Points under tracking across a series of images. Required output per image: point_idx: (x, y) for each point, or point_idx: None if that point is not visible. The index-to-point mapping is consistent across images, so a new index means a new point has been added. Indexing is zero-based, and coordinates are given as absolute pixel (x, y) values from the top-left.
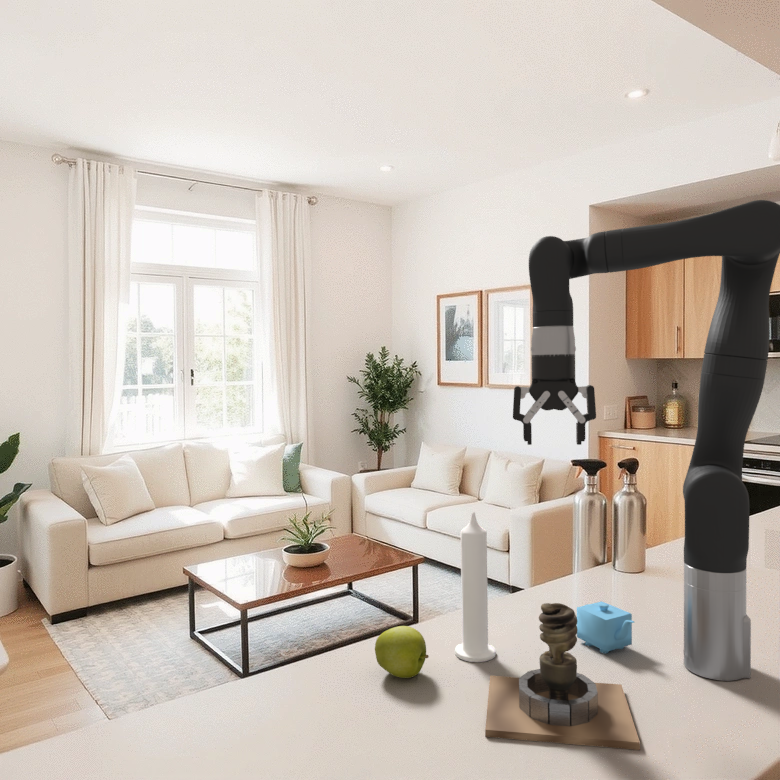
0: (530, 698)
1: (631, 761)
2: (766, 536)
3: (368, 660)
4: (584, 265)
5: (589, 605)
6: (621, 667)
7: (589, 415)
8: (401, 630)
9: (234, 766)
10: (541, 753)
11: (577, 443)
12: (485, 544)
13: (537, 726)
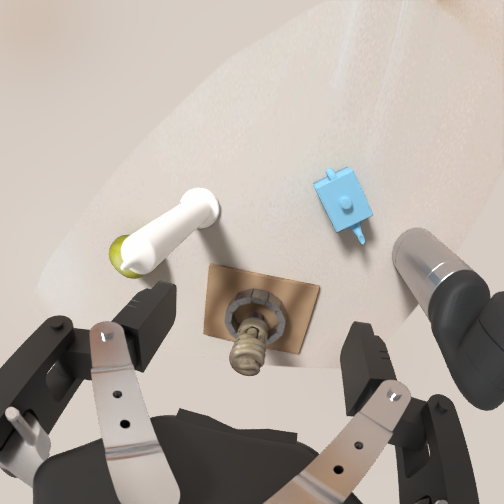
0: (231, 334)
1: (288, 358)
2: None
3: (114, 220)
4: None
5: (333, 184)
6: (337, 244)
7: (397, 448)
8: (122, 270)
9: None
10: None
11: (340, 356)
12: (162, 259)
13: None
